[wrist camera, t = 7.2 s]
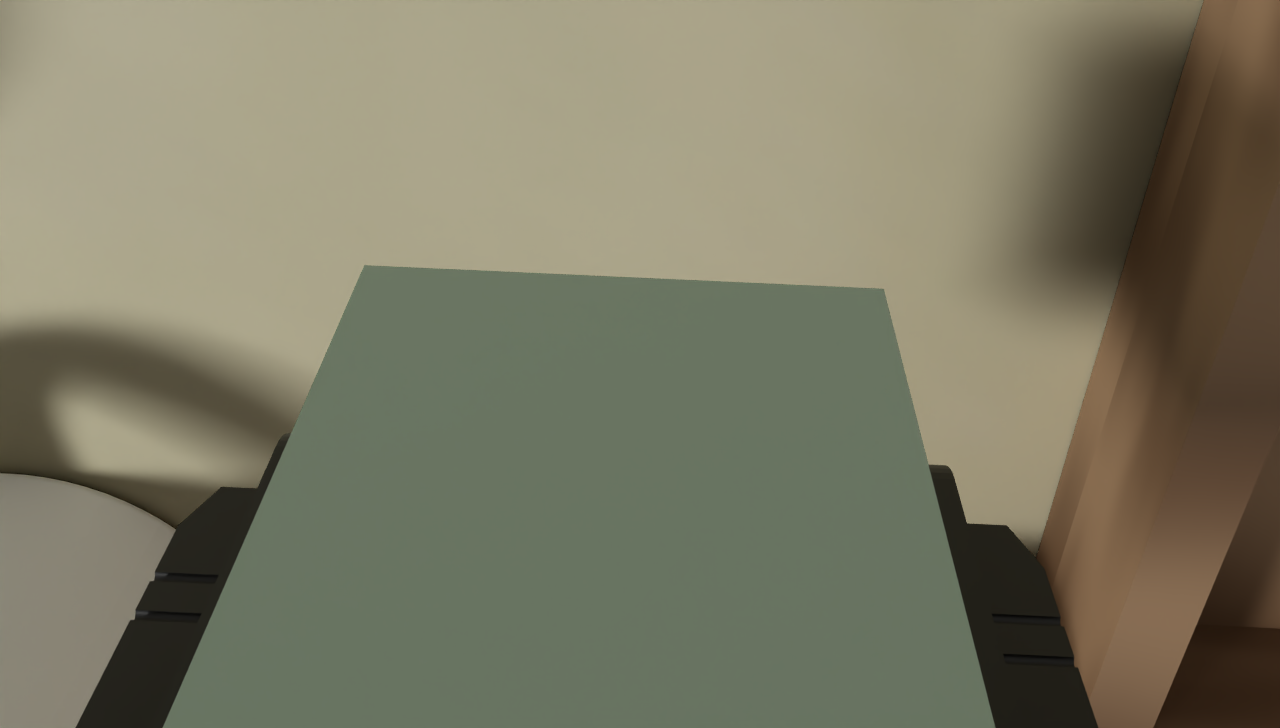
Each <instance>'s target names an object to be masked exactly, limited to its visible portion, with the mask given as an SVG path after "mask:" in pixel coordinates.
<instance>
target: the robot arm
mask: <svg viewBox="0 0 1280 728" xmlns="http://www.w3.org/2000/svg"><path fill="white" fill-rule="evenodd" d="M290 435H291V433H288V434H285V435H283V436H282V437H281V439H280V440H279V442H278V444H277V446H276V448H275V450H274V452H273V454H272V457H271V459H270V461H269V463H268V466H267V468H266V470H265V472H264V475H263V477H262V479H261V481H260V484H259V486H258V488H257V489H255V488H233V487H221V488H220V489H219V490H218V491H216V492H215V493H214V494H213V495H212V496H211V497H210V498H209V499H207V500H206V501H205V502H204V503H203V504H202V505H201V506H200V507H198V508H197V509H196V510H195V511H194V512H193V513H192V514H191V515H189V516H188V517H187V518H186V519H185V520H184V521H183V522H182V523H181V524H179V525H178V527H177V529H176V531H175V533H174V535H173V537H172V539H171V541H170V543H169V545H168V546H167V548H166V550H165V552H164V554H163V556H162V558H161V560H160V562H159V564H158V566H157V568H156V570H155V578H154V581H150V582H149V584H148V586H147V588H146V590H145V592H144V594H143V596H142V598H141V600H140V602H139V604H138V606H137V607H136V609H135V612H136V614H135V619H134V620H130V621H129V623H128V625H127V627H126V629H125V631H124V633H123V635H122V637H121V639H120V641H119V643H118V645H117V647H116V649H115V651H114V653H113V655H112V657H111V659H110V661H109V663H108V665H107V666H106V668H105V670H104V672H103V674H102V676H101V678H100V680H99V682H98V684H97V686H96V688H95V690H94V692H93V694H92V696H91V698H90V700H89V702H88V704H87V706H86V708H85V710H84V712H83V714H82V716H81V718H80V720H79V722H78V724H77V726H76V727H75V728H163V726H164V724H165V721H166V719H167V717H168V714H169V712H170V710H171V707H172V705H173V703H174V701H175V698H176V696H177V694H178V691H179V689H180V687H181V685H182V682H183V680H184V678H185V675H186V673H187V671H188V669H189V666H190V664H191V662H192V659H193V657H194V655H195V652H196V650H197V648H198V646H199V643H200V641H201V639H202V636H203V634H204V632H205V630H206V627H207V625H208V623H209V620H210V618H211V616H212V614H213V611H214V609H215V607H216V604H217V602H218V600H219V598H220V595H221V593H222V591H223V588H224V586H225V584H226V581H227V579H228V577H229V575H230V572H231V570H232V568H233V565H234V563H235V561H236V559H237V556H238V554H239V552H240V549H241V547H242V545H243V543H244V540H245V538H246V536H247V533H248V531H249V529H250V526H251V524H252V522H253V520H254V517H255V515H256V513H257V510H258V508H259V506H260V504H261V501H262V499H263V497H264V494H265V492H266V490H267V488H268V485H269V483H270V481H271V478H272V476H273V474H274V471H275V469H276V467H277V465H278V462H279V460H280V458H281V455H282V453H283V451H284V449H285V446H286V444H287V442H288V439H289V437H290ZM929 469H930V473H931V477H932V481H933V485H934V489H935V493H936V497H937V500H938V504H939V508H940V512H941V516H942V520H943V524H944V528H945V532H946V536H947V540H948V544H949V548H950V552H951V555H952V559H953V563H954V567H955V571H956V575H957V579H958V583H959V587H960V591H961V595H962V599H963V603H964V606H965V610H966V614H967V618H968V622H969V626H970V630H971V634H972V638H973V642H974V646H975V650H976V654H977V658H978V661H979V665H980V669H981V673H982V677H983V681H984V685H985V689H986V693H987V697H988V701H989V705H990V709H991V713H992V716H993V720H994V724H995V728H1098V725H1097V722H1096V719H1095V716H1094V713H1093V710H1092V707H1091V704H1090V701H1089V698H1088V695H1087V692H1086V689H1085V687H1084V684H1083V681H1082V678H1081V675H1080V672H1079V669H1078V667H1075V666H1074V654H1073V651H1072V648H1071V645H1070V642H1069V639H1068V636H1067V633H1066V630H1065V628H1064V627H1063V626H1061V624H1060V619H1061V616H1060V613H1059V610H1058V607H1057V604H1056V601H1055V598H1054V595H1053V592H1052V589H1051V586H1050V583H1049V580H1048V577H1047V574H1046V571H1045V569H1044V567H1043V566H1042V565H1041V564H1040V563H1039V562H1038V560H1037V559H1036V558H1035V557H1034V556H1033V555H1032V554H1031V553H1030V551H1029V550H1028V549H1027V548H1026V547H1025V546H1024V545H1023V543H1022V542H1021V541H1020V540H1019V539H1018V538H1017V537H1016V535H1015V534H1014V533H1013V532H1012V531H1011V530H1010V529H1009V527H1008V526H1006V525H985V524H967V522H966V519H965V515H964V511H963V508H962V504H961V501H960V497H959V493H958V490H957V486H956V483H955V479H954V476H953V473H952V471H951V469H950V468H949V467H948V466H946V465H929Z"/></svg>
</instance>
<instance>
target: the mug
mask: <svg viewBox="0 0 1280 728" xmlns="http://www.w3.org/2000/svg"><path fill="white" fill-rule="evenodd" d="M175 531H176V529H174V528H173V527H171V526H170V525H168V524H167V523H165V522H164V521H162V520H160V519H159V518H157V517H155V516H153V515H151V514H150V513H148V512H146V511H144V510H142V509H140V508H138V507H136V506H134V505H132V504H130V503H128V502H125V501H123V500H121V499H118V498H116V497H113V496H111V495H108V494H106V493H103V492H100V491H97V490H94V489H91V488H88V487H84V486H81V485H77V484H73V483H69V482H66V481H61V480H56V479H51V478H46V477H38V476H31V475H22V474H7V473H0V728H75V727H76V726H77V724H78V722H79V720H80V718H81V716H82V714H83V712H84V710H85V708H86V706H87V704H88V702H89V700H90V698H91V696H92V694H93V692H94V690H95V688H96V686H97V684H98V682H99V680H100V678H101V676H102V674H103V672H104V670H105V668H106V666H107V665H108V663H109V661H110V659H111V657H112V655H113V653H114V651H115V649H116V647H117V645H118V643H119V641H120V639H121V637H122V635H123V633H124V631H125V629H126V627H127V625H128V623H129V621H130V620H134V619H135V614H136V612H135V609H136V607H137V606H138V604H139V602H140V600H141V598H142V596H143V594H144V592H145V590H146V588H147V586H148V584H149V582H150V581H154V578H155V570H156V568H157V566H158V564H159V562H160V560H161V558H162V556H163V554H164V552H165V550H166V548H167V546H168V545H169V543H170V541H171V539H172V537H173V535H174V533H175Z"/></svg>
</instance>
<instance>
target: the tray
mask: <svg viewBox="0 0 1280 728" xmlns="http://www.w3.org/2000/svg"><path fill="white" fill-rule="evenodd" d="M1036 559H1037V560H1038V562H1039V563H1040V564H1041V565H1042V566H1043V567H1044V569H1045V571H1046V574H1047V577H1048V580H1049V583H1050V586H1051V589H1052V592H1053V595H1054V598H1055V601H1056V604H1057V607H1058V610H1059V613H1060V616H1061V619H1060V624H1061V626H1063V627H1064V628H1065V630H1066V633H1067V636H1068V639H1069V642H1070V645H1071V648H1072V651H1073V654H1074V666H1075V667H1078V669H1079V672H1080V675H1081V678H1082V681H1083V684H1084V687H1085V689H1086V692H1087V695H1088V698H1089V701H1090V704H1091V707H1092V710H1093V713H1094V716H1095V719H1096V722H1097V725H1098V728H1280V0H1204V2H1203V5H1202V8H1201V12H1200V15H1199V18H1198V22H1197V25H1196V28H1195V32H1194V35H1193V38H1192V41H1191V45H1190V48H1189V51H1188V55H1187V58H1186V61H1185V65H1184V68H1183V71H1182V75H1181V78H1180V81H1179V85H1178V88H1177V91H1176V95H1175V98H1174V101H1173V105H1172V108H1171V111H1170V115H1169V118H1168V121H1167V125H1166V128H1165V131H1164V135H1163V138H1162V141H1161V145H1160V148H1159V151H1158V155H1157V158H1156V161H1155V164H1154V168H1153V171H1152V174H1151V178H1150V181H1149V184H1148V188H1147V191H1146V194H1145V198H1144V201H1143V204H1142V208H1141V211H1140V214H1139V218H1138V221H1137V224H1136V228H1135V231H1134V234H1133V238H1132V241H1131V244H1130V248H1129V251H1128V254H1127V258H1126V261H1125V264H1124V268H1123V271H1122V274H1121V277H1120V281H1119V284H1118V287H1117V291H1116V294H1115V297H1114V301H1113V304H1112V307H1111V311H1110V314H1109V317H1108V321H1107V324H1106V327H1105V331H1104V334H1103V337H1102V341H1101V344H1100V347H1099V351H1098V354H1097V357H1096V361H1095V364H1094V367H1093V371H1092V374H1091V377H1090V381H1089V384H1088V387H1087V391H1086V394H1085V397H1084V400H1083V404H1082V407H1081V410H1080V414H1079V417H1078V420H1077V424H1076V427H1075V430H1074V434H1073V437H1072V440H1071V444H1070V447H1069V450H1068V454H1067V457H1066V460H1065V464H1064V467H1063V470H1062V474H1061V477H1060V480H1059V484H1058V487H1057V490H1056V494H1055V497H1054V500H1053V504H1052V507H1051V510H1050V513H1049V517H1048V520H1047V523H1046V527H1045V530H1044V533H1043V537H1042V540H1041V543H1040V547H1039V550H1038V553H1037V557H1036Z"/></svg>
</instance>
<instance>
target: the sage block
mask: <svg viewBox="0 0 1280 728" xmlns="http://www.w3.org/2000/svg"><path fill="white" fill-rule="evenodd" d="M163 728H995V724H994V720H993V716H992V713H991V709H990V705H989V701H988V697H987V693H986V689H985V685H984V681H983V677H982V673H981V669H980V665H979V661H978V658H977V654H976V650H975V646H974V642H973V638H972V634H971V630H970V626H969V622H968V618H967V614H966V610H965V606H964V603H963V599H962V595H961V591H960V587H959V583H958V579H957V575H956V571H955V567H954V563H953V559H952V555H951V552H950V548H949V544H948V540H947V536H946V532H945V528H944V524H943V520H942V516H941V512H940V508H939V504H938V500H937V497H936V493H935V489H934V485H933V481H932V477H931V473H930V469H929V465H928V461H927V457H926V453H925V449H924V445H923V442H922V438H921V434H920V430H919V426H918V422H917V418H916V414H915V410H914V406H913V402H912V398H911V394H910V390H909V387H908V383H907V379H906V375H905V371H904V367H903V363H902V359H901V355H900V351H899V347H898V343H897V339H896V335H895V332H894V328H893V324H892V320H891V316H890V312H889V308H888V304H887V300H886V296H885V292H884V289H875V288H853V287H831V286H809V285H787V284H765V283H743V282H720V281H698V280H676V279H654V278H632V277H610V276H588V275H566V274H544V273H522V272H500V271H478V270H455V269H433V268H411V267H389V266H367V265H364V268H363V270H362V272H361V274H360V277H359V279H358V281H357V284H356V286H355V288H354V290H353V293H352V295H351V297H350V300H349V302H348V304H347V306H346V309H345V311H344V313H343V316H342V318H341V320H340V323H339V325H338V327H337V329H336V332H335V334H334V336H333V339H332V341H331V343H330V345H329V348H328V350H327V352H326V355H325V357H324V359H323V361H322V364H321V366H320V368H319V371H318V373H317V375H316V378H315V380H314V382H313V384H312V387H311V389H310V391H309V394H308V396H307V398H306V400H305V403H304V405H303V407H302V410H301V412H300V414H299V416H298V419H297V421H296V423H295V426H294V428H293V430H292V433H291V435H290V437H289V439H288V442H287V444H286V446H285V449H284V451H283V453H282V455H281V458H280V460H279V462H278V465H277V467H276V469H275V471H274V474H273V476H272V478H271V481H270V483H269V485H268V488H267V490H266V492H265V494H264V497H263V499H262V501H261V504H260V506H259V508H258V510H257V513H256V515H255V517H254V520H253V522H252V524H251V526H250V529H249V531H248V533H247V536H246V538H245V540H244V543H243V545H242V547H241V549H240V552H239V554H238V556H237V559H236V561H235V563H234V565H233V568H232V570H231V572H230V575H229V577H228V579H227V581H226V584H225V586H224V588H223V591H222V593H221V595H220V598H219V600H218V602H217V604H216V607H215V609H214V611H213V614H212V616H211V618H210V620H209V623H208V625H207V627H206V630H205V632H204V634H203V636H202V639H201V641H200V643H199V646H198V648H197V650H196V652H195V655H194V657H193V659H192V662H191V664H190V666H189V669H188V671H187V673H186V675H185V678H184V680H183V682H182V685H181V687H180V689H179V691H178V694H177V696H176V698H175V701H174V703H173V705H172V707H171V710H170V712H169V714H168V717H167V719H166V721H165V724H164V726H163Z"/></svg>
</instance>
